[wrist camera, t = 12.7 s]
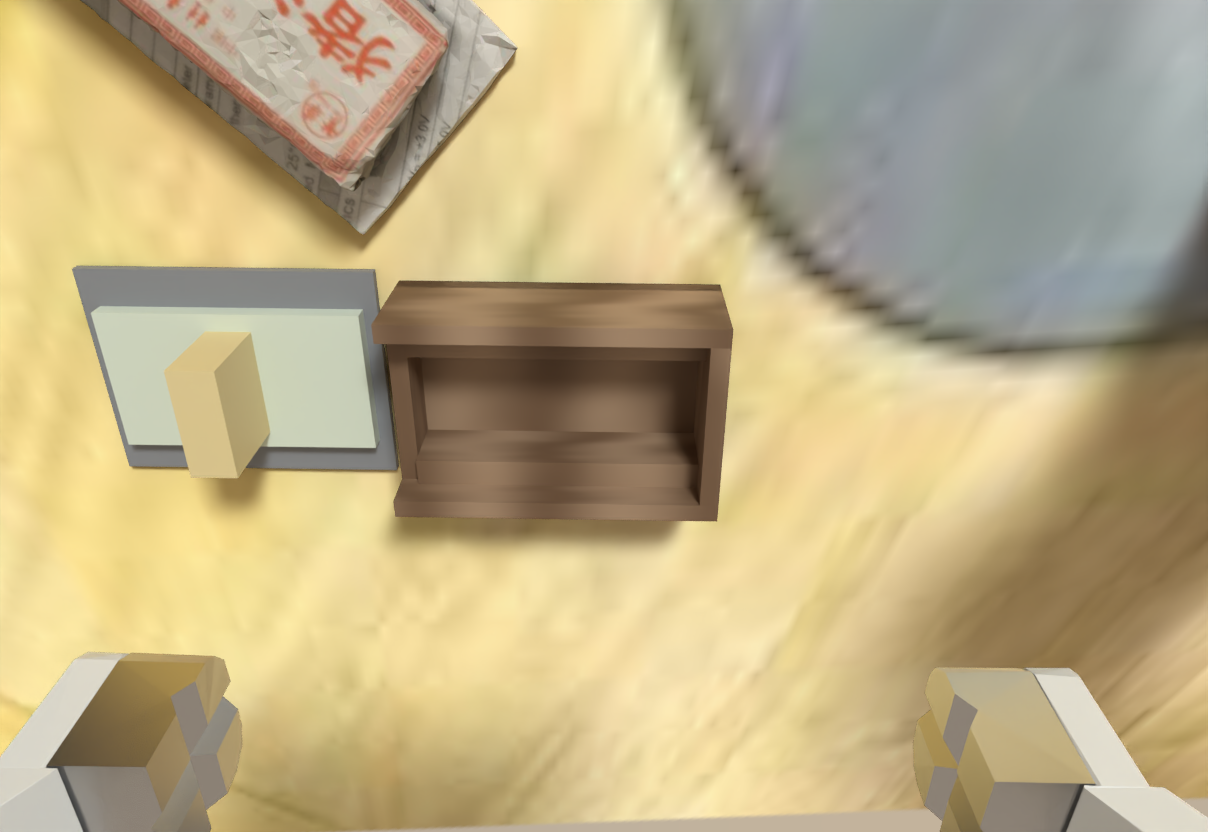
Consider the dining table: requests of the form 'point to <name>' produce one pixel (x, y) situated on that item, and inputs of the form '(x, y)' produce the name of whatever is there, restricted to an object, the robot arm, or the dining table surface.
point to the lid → (239, 380)
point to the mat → (249, 292)
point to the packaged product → (327, 81)
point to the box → (558, 398)
